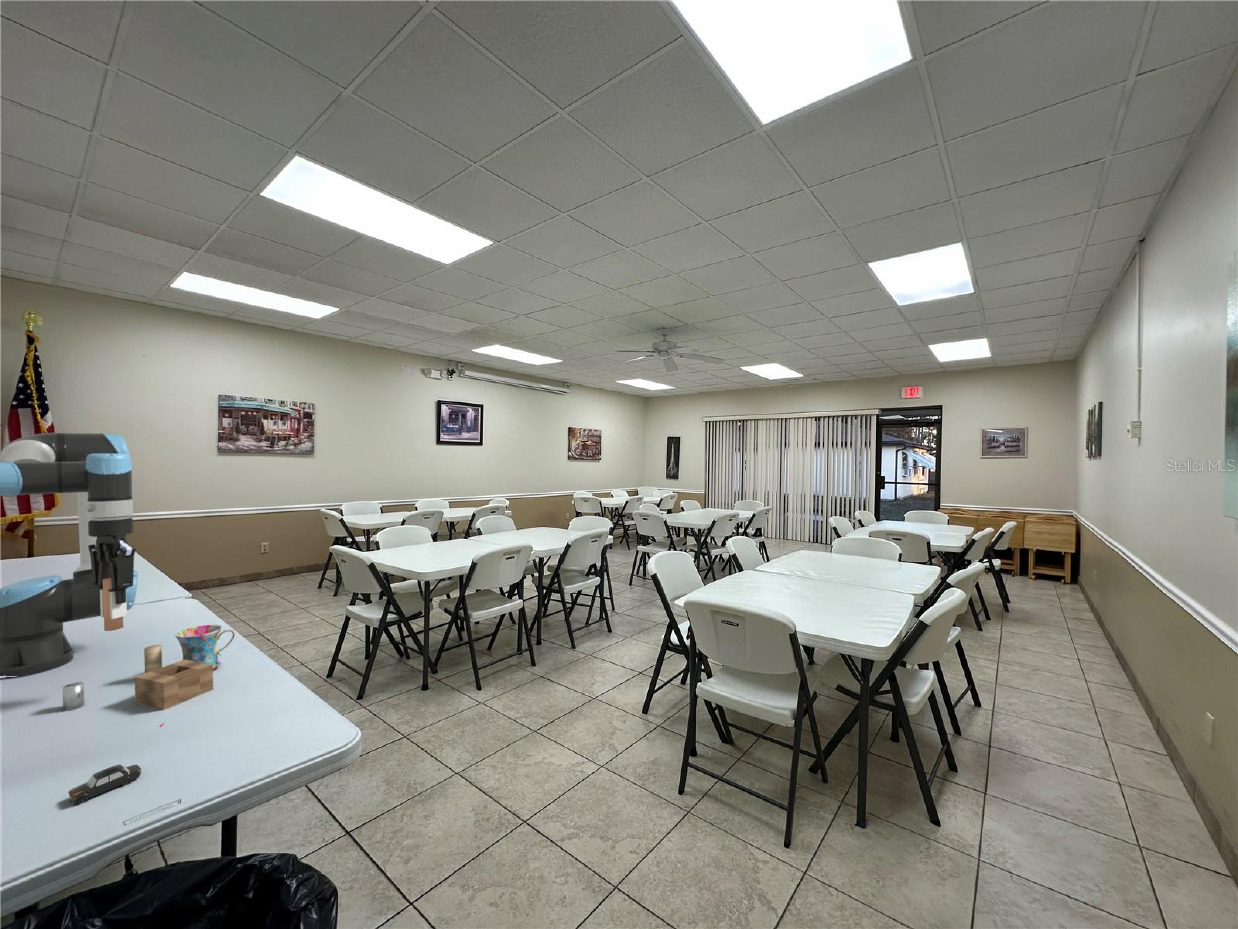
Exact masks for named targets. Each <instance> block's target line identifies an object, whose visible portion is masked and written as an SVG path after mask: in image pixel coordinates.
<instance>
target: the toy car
mask: <svg viewBox="0 0 1238 929" xmlns="http://www.w3.org/2000/svg"><path fill="white" fill-rule="evenodd" d="M164 724H165V722H163V723H161V724H160V725H159V728H162V727H163V725H164ZM157 732H158V730H156V731H155V733H154V734H153V735H152V737H151V738H153V737H154V736H155V734H157ZM150 740H151V739H150ZM150 740H148V742H147V743H149V742H150ZM144 748H145V746H143V748H142V749H144ZM141 752H142V750H140V751H139V753H141ZM135 760H136V761H137V760H138V758H136V759H135ZM134 763H135V764H132V765H128V766H123V765H122V764H117V765H114V766H110V767H108V768H105V769H102V770H100V771H98V772H95V773H94V774H93V775H91V777H90V778H89V779H88V780H87V781H86V782H84V783H82V784H80V785H78V786H76V787H74V788H72V789H69V791H68V795H69V800H70V803H71V804H72V805H79V806H80V805H82V804H83V802H84V803H87V802H89V800H90V799H91V798H94V797H96V796H98V795H100V794H102V793H103V794H104V793H105V792H108V791H110V790H113V789H114V788H117V787H120V786H121V787H122V788H123V787H127V786H126V785H128V786H129V785H131V784H132V781H134V780H136V779H139V778H141V774H142V768H141V767H140V765H138V764H137V762H134Z"/></svg>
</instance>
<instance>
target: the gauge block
mask: <svg viewBox="0 0 1238 929" xmlns="http://www.w3.org/2000/svg"><path fill="white" fill-rule="evenodd" d="M213 670H214V669H213V665H211V664H206V663H200V662H195V661H190V660H183V659H182V660H180V661H176V662H174V663H170V664H168V665H165V666H162V668H159V669H156V670H153V671H150V672H147V673H145V672H144V673H143V674H142V673H141V674H139V675H136V676H134V698H135V699H134V700H135V701H134V702H135V703H134V704H138V705H143V706H148V707H151V708H155V709H160V710H168V709H170V708H172V707H174V706H176V705H179V704H181V703H183V702H187V701H188V700H191V699H193V698H196V697H198V696H201V695H203V694H205V693H208V692H210V691H213V690H214V672H213Z"/></svg>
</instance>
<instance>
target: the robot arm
mask: <svg viewBox="0 0 1238 929" xmlns="http://www.w3.org/2000/svg"><path fill="white" fill-rule="evenodd" d="M0 452H1V453H0V461H1V462H0V496H9V497H15V496H26V495H45V494H46V495H47V494H49V495H51V494H70V493H71V494H74V493H75V494H76V493H77V494H76V495H77V514H78V516H77V517H78V538H79V539H78V540H79V560H80V561H79V562H80V565H79V566H78V567H76V569H74V571H73V572H72V578H70V579H69V578H68V579H63V577H62V576H61V574H60V575H59V574H55V575H54V574H53V575H47V576H46V575H45V576H40V577H35V578H29V579H25V580H20V581H18V582H13V583H11V584H8V585H5V586H3V587H1V588H0V676H4V675H5V676H20V677H25V676H30V675H34V674H38V673H41V672H42V673H43V672H46V671H49V670H53V669H55V668H58V667H61V666H63V665H65V664H67V663H69V662H72V660H74V658H75V657H74V649H73V647H72V645H71V643H70V642H69V640H68V638H67V636H66V635H65V632H64V623H68V622H74V621H80V620H86V619H92V618H96V617H100V618H104V605H103V579H107V578H111V582H112V589H109V590H108V591H109V592H110V619H114V618H118V617H122V616H123V617H126V616H128V613H127V612H128V611H130V610H131V609H132V608H133V607H134V604H135V601H136V595H137V592H138V589H137V588H138V583H139V582H138V580H139V578H138V576H139V572H138V571H137V570H135V569H134V568H135V567H134V566H135V553H136V550H137V548H136V546H135V545H131V546H130V545H129V544H128V538H127V535H128V534H129V535H130V534H132V533H133V532H134V518H132V517H131V516H133V515H134V504H133V502H134V500H133V482H132V481H133V474H132V473H133V472H132V470H133V465H132V457H131V454H130V450H129V446H128V444H127V441H126V440H125V437H124V436H122V435H120V434H113V433H112V434H111V433H103V432H101V433H88V432H87V433H86V432H85V433H84V432H83V433H81V432H79V433H77V432H76V433H75V432H74V433H73V432H72V433H71V432H70V433H68V432H66V433H65V432H43V433H37V434H32V435H31V434H30V435H28V436H27V435H26V436H24V437H20V438H17V439H15V440H12V441H10V442H9V443H7V444H6V445H5V446H4V447H3V449H2V450H1V451H0ZM24 675H25V676H24Z"/></svg>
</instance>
